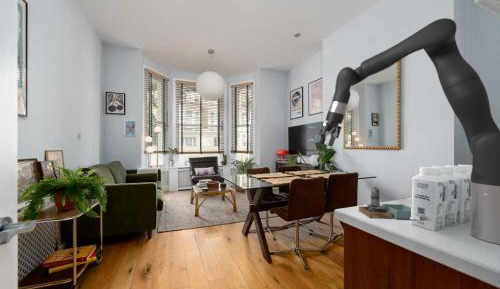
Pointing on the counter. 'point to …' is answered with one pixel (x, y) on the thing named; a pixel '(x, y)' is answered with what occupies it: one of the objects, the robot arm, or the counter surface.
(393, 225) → the counter surface
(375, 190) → the salt shaker
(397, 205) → the teal tray
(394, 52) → the robot arm
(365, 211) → the walnut socket
